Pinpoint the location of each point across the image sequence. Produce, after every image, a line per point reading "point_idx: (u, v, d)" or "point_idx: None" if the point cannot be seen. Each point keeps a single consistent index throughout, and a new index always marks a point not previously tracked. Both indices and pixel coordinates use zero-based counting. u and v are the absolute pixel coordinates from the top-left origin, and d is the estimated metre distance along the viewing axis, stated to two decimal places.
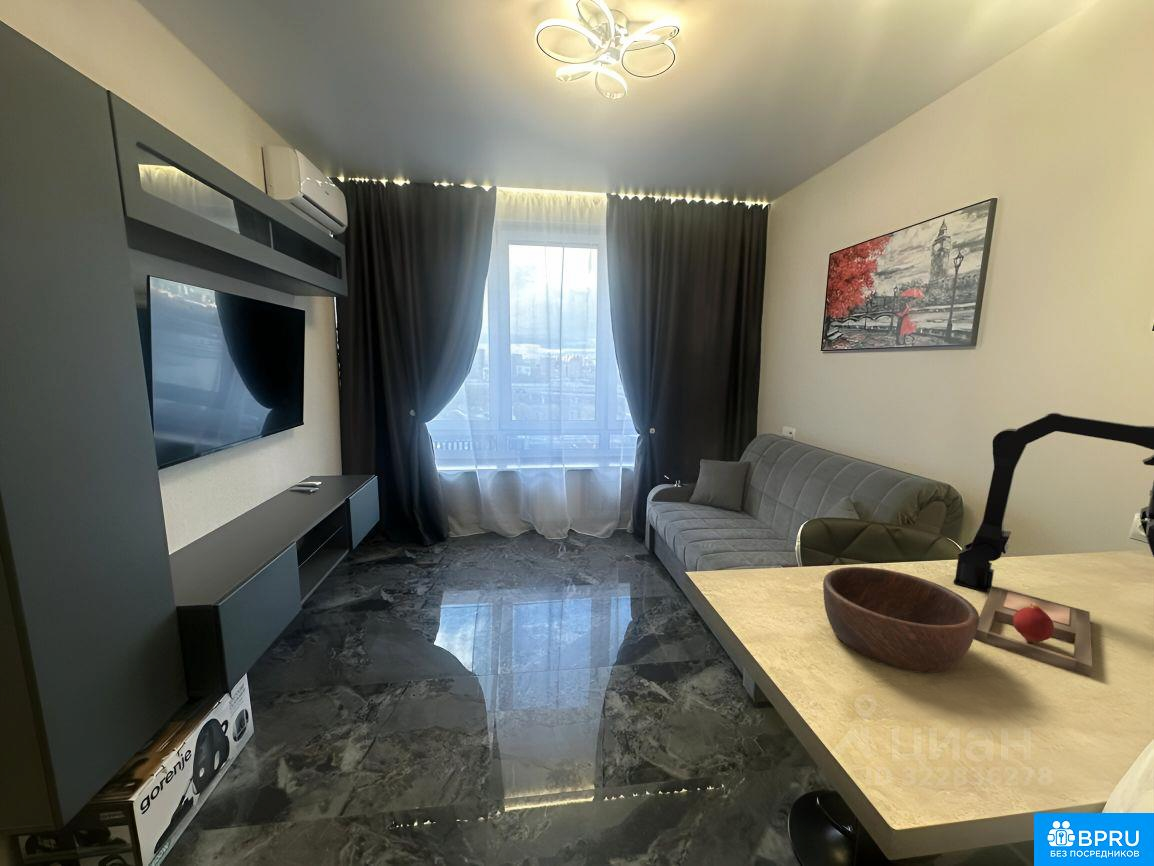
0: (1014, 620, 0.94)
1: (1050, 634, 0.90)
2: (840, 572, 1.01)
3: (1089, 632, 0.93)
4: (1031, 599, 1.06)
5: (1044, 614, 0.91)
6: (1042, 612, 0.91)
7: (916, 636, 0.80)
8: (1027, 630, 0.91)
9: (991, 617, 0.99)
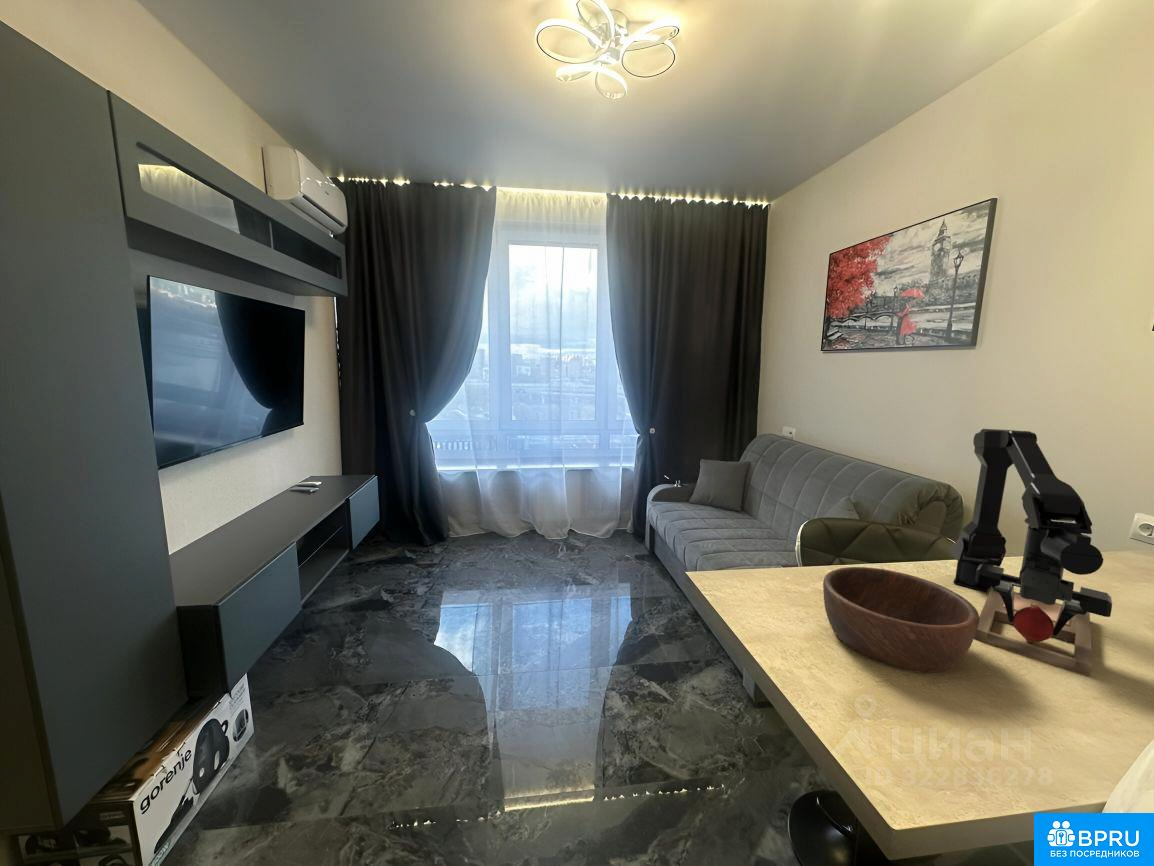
0: (1014, 620, 0.94)
1: (1050, 634, 0.90)
2: (840, 572, 1.01)
3: (1089, 632, 0.93)
4: (1031, 599, 1.06)
5: (1044, 614, 0.91)
6: (1042, 612, 0.91)
7: (916, 635, 0.80)
8: (1028, 630, 0.91)
9: (991, 617, 0.99)
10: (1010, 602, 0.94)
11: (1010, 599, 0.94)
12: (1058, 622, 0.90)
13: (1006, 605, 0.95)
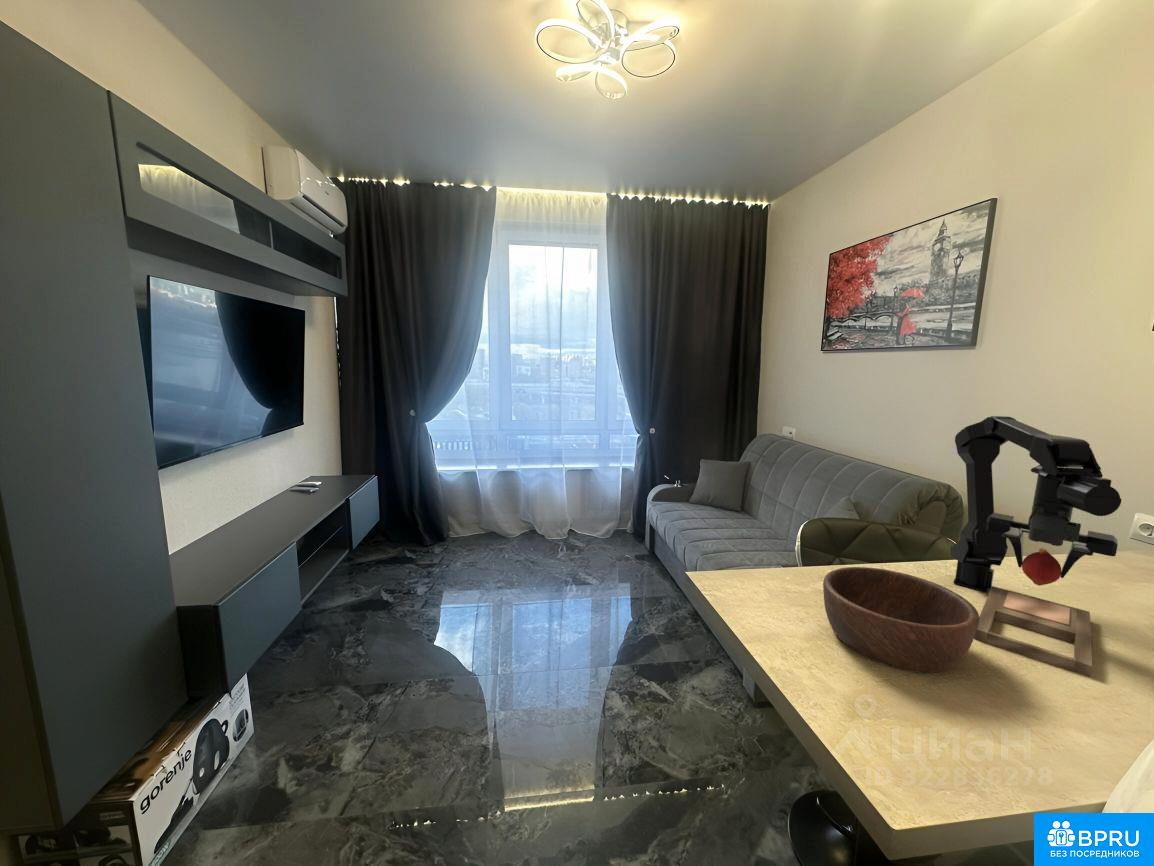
0: (1023, 564, 0.99)
1: (1057, 576, 0.95)
2: (840, 572, 1.01)
3: (1089, 632, 0.93)
4: (1031, 599, 1.06)
5: (1052, 558, 0.95)
6: (1050, 556, 0.96)
7: (916, 636, 0.80)
8: (1035, 573, 0.96)
9: (991, 617, 0.99)
10: (1019, 547, 0.99)
11: (1019, 544, 0.98)
12: (1065, 564, 0.94)
13: (1015, 550, 0.99)
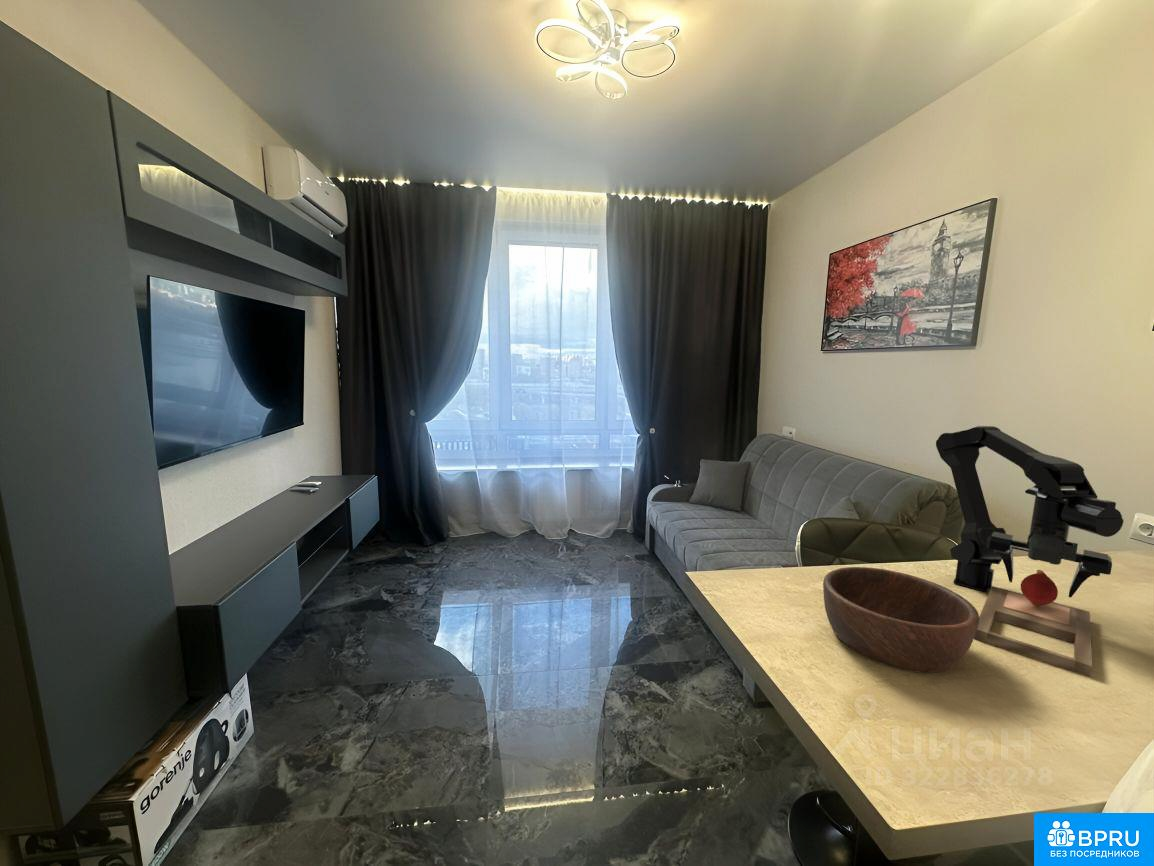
0: (1021, 585, 1.04)
1: (1054, 596, 1.00)
2: (840, 572, 1.01)
3: (1089, 632, 0.93)
4: None
5: (1049, 579, 1.01)
6: (1047, 577, 1.01)
7: (916, 635, 0.80)
8: (1034, 592, 1.01)
9: (991, 617, 0.99)
10: (1010, 563, 1.04)
11: (1010, 560, 1.04)
12: (1073, 584, 0.98)
13: (1006, 566, 1.05)
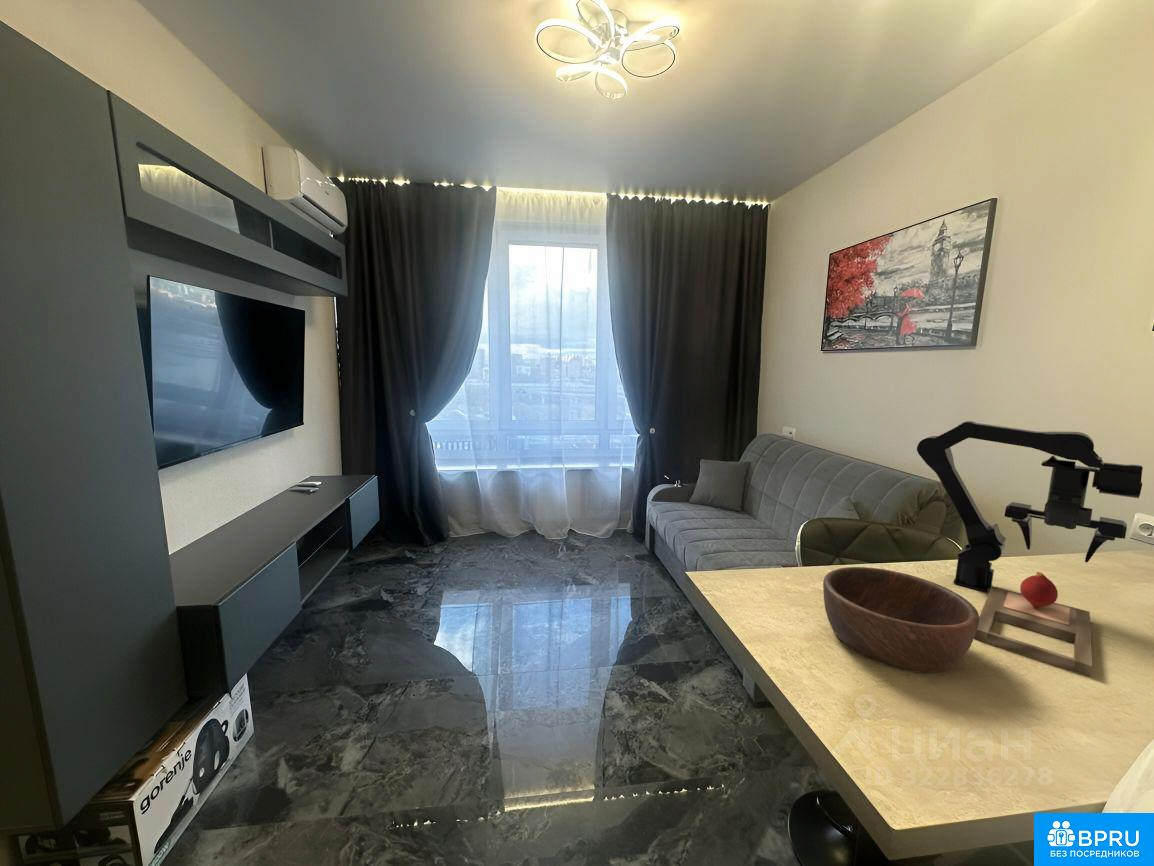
0: (1021, 587, 1.03)
1: (1054, 599, 0.99)
2: (840, 572, 1.01)
3: (1089, 632, 0.93)
4: None
5: (1049, 581, 1.00)
6: (1047, 579, 1.01)
7: (916, 635, 0.80)
8: (1033, 595, 1.01)
9: (991, 617, 0.99)
10: (1028, 531, 1.09)
11: (1028, 528, 1.09)
12: (1089, 550, 1.02)
13: (1024, 534, 1.10)
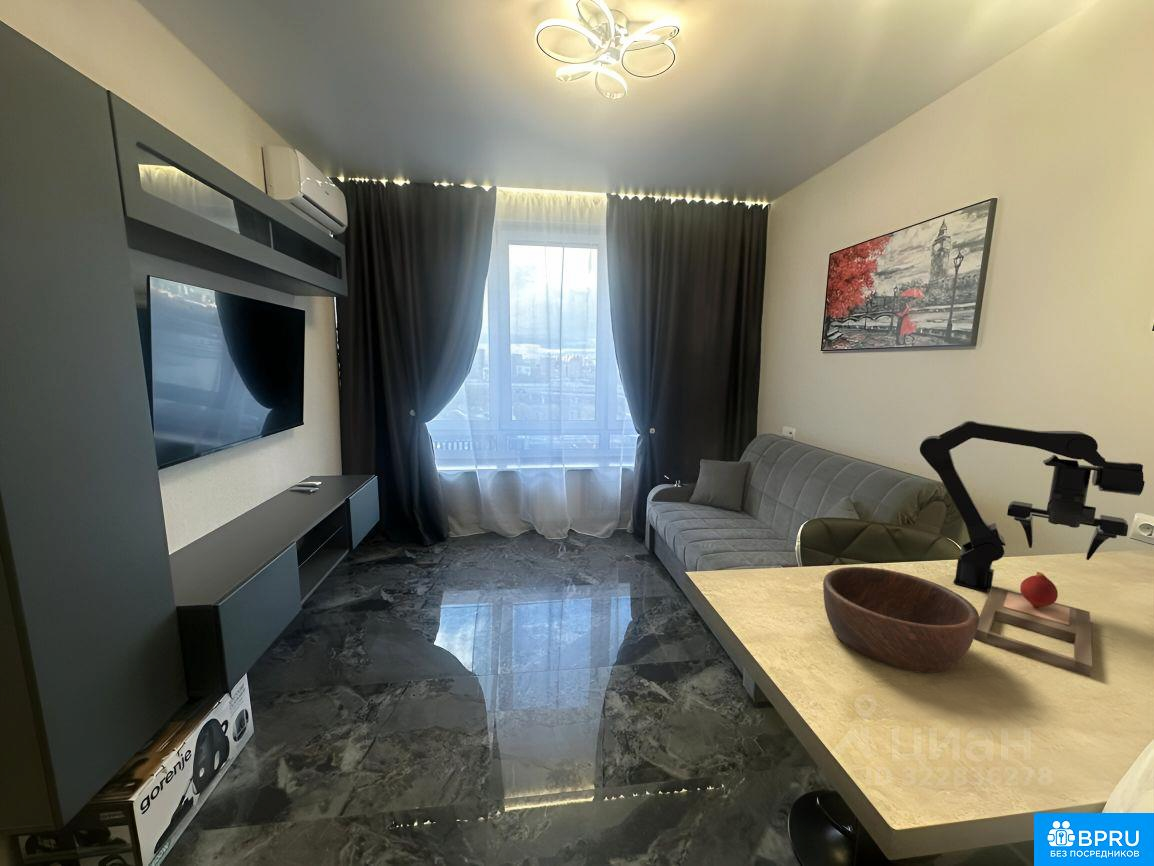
0: (1021, 587, 1.03)
1: (1054, 599, 0.99)
2: (840, 572, 1.01)
3: (1089, 632, 0.93)
4: None
5: (1049, 581, 1.00)
6: (1047, 579, 1.01)
7: (916, 636, 0.80)
8: (1033, 595, 1.01)
9: (991, 617, 0.99)
10: (1030, 529, 1.10)
11: (1030, 527, 1.10)
12: (1091, 547, 1.03)
13: (1026, 532, 1.11)
